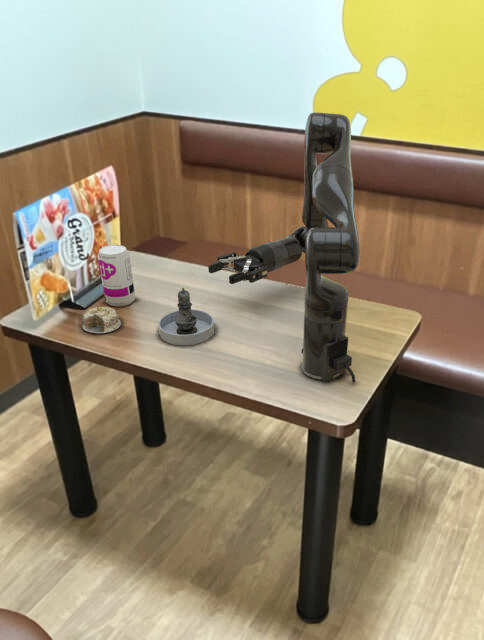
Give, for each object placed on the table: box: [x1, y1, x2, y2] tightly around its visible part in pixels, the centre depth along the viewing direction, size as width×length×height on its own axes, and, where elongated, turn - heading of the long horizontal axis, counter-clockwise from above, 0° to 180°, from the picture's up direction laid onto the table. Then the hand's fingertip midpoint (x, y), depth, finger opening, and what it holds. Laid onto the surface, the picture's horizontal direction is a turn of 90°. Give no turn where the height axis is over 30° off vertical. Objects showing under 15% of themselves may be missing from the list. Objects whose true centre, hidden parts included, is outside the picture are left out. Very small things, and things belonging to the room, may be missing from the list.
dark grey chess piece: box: [174, 287, 198, 335], centre depth 150 cm, size 6×6×12 cm
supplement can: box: [97, 244, 136, 308], centre depth 164 cm, size 8×8×15 cm
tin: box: [157, 308, 215, 346], centre depth 153 cm, size 14×14×3 cm
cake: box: [81, 306, 122, 334], centre depth 155 cm, size 10×10×5 cm
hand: (219, 274), depth 153 cm, fingers open, 8 cm apart
